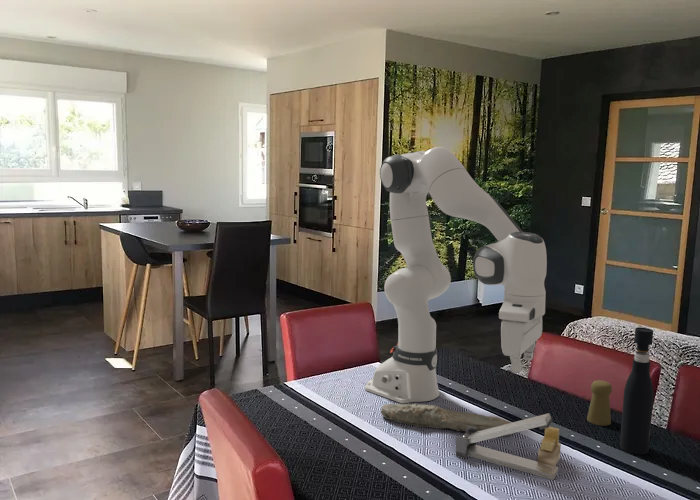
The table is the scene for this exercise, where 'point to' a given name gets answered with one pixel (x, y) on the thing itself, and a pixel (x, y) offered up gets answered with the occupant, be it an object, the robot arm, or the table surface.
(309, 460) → the table surface
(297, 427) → the table surface
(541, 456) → the tan wooden block
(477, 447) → the base
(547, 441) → the tan l-shaped block
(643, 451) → the wine bottle
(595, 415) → the cork
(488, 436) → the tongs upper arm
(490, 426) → the elongated rock
